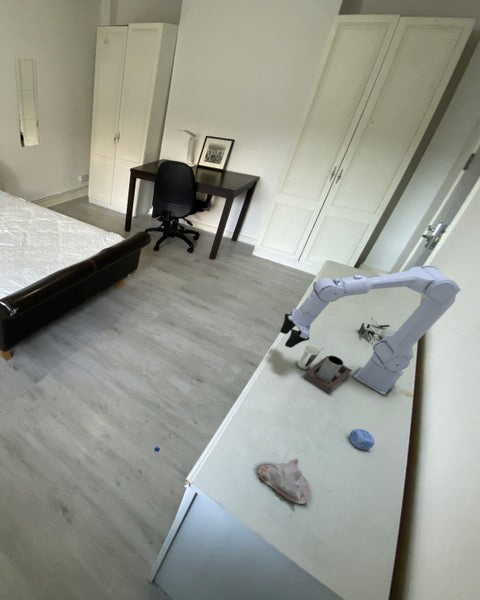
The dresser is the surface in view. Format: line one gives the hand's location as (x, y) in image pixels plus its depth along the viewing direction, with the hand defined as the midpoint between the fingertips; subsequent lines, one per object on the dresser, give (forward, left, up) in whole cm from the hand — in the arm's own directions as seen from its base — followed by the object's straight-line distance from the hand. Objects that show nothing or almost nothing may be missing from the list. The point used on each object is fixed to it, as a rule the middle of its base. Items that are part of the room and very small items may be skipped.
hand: (285, 339), depth 116 cm
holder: (-15, -8, -11) cm, 20 cm away
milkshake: (-8, -7, -11) cm, 15 cm away
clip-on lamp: (-15, -52, -11) cm, 56 cm away
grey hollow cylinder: (-15, -5, -11) cm, 19 cm away
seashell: (-26, +43, -11) cm, 51 cm away
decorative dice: (-32, +12, -11) cm, 36 cm away
